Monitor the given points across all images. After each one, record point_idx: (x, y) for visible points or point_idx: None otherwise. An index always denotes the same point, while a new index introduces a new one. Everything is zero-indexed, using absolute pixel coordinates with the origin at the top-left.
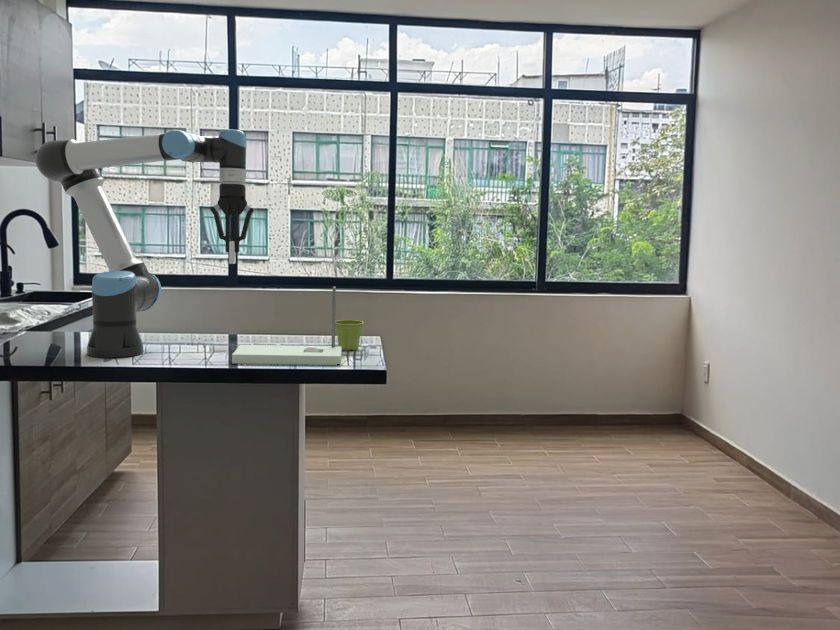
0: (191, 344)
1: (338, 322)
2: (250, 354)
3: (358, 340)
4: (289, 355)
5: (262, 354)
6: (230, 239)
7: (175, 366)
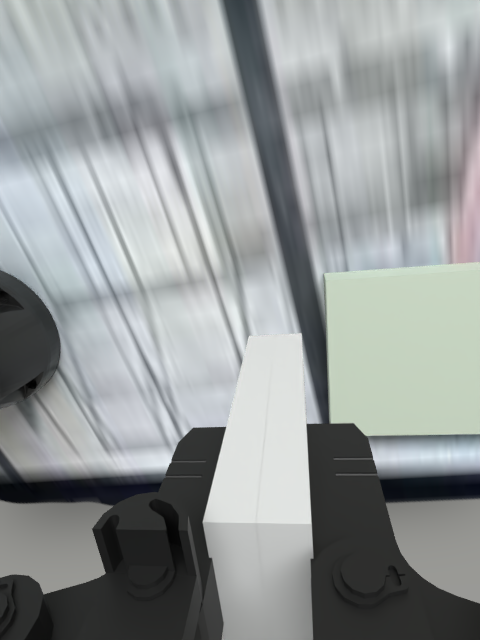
0: (116, 135)
1: None
2: (383, 432)
3: None
4: None
5: (418, 428)
6: (201, 594)
7: None
